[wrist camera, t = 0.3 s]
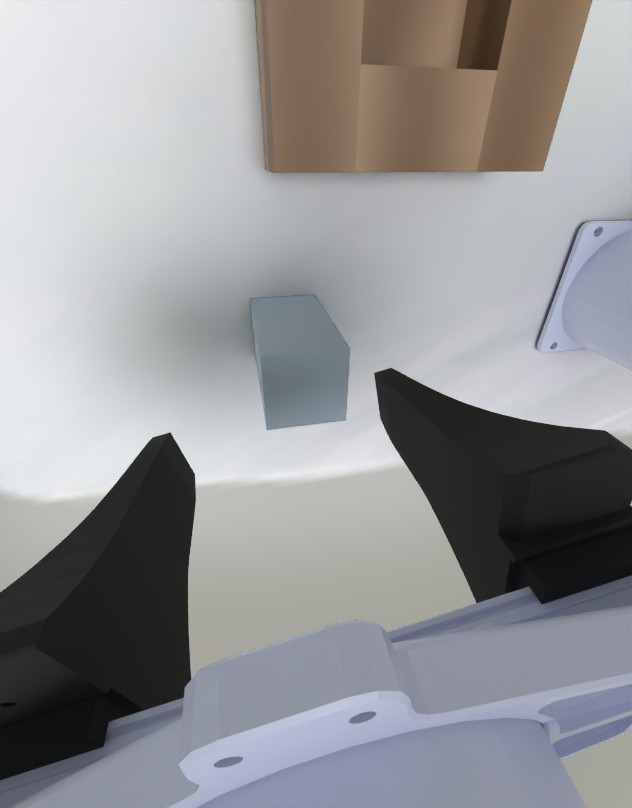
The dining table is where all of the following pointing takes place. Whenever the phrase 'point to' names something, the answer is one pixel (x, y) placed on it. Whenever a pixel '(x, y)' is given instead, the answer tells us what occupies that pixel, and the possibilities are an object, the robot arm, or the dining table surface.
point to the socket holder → (413, 83)
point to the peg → (299, 361)
